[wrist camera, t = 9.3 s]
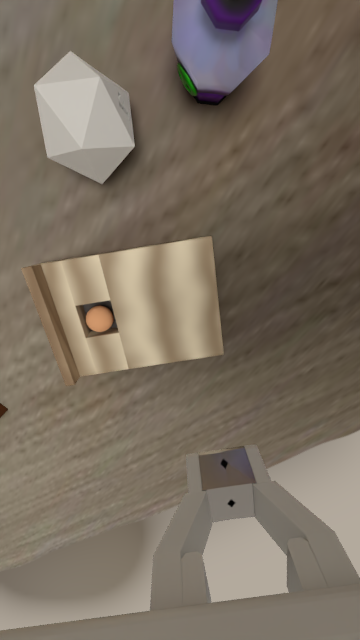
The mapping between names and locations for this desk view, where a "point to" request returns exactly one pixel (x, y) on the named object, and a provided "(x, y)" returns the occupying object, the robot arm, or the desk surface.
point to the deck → (130, 307)
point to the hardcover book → (2, 409)
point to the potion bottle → (220, 43)
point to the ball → (99, 318)
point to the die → (84, 118)
